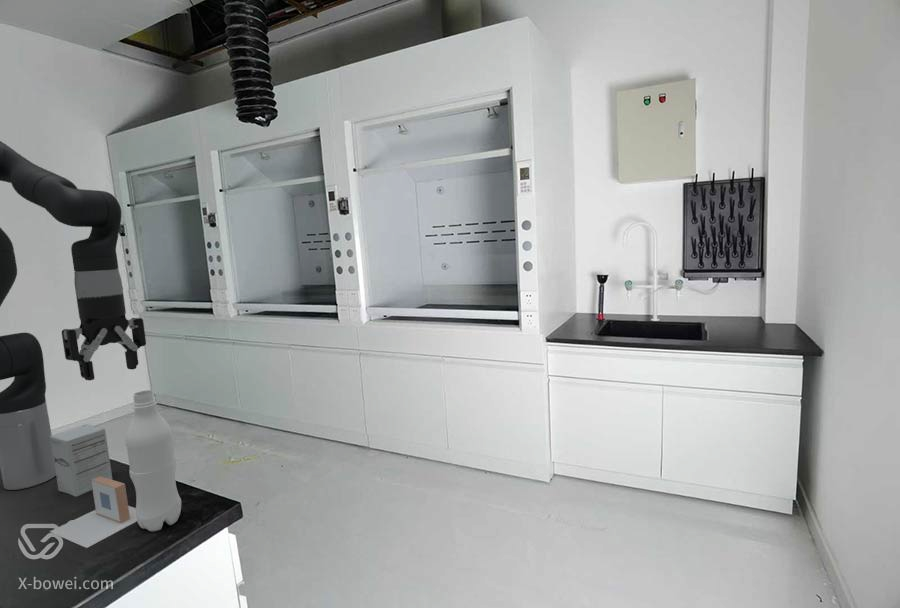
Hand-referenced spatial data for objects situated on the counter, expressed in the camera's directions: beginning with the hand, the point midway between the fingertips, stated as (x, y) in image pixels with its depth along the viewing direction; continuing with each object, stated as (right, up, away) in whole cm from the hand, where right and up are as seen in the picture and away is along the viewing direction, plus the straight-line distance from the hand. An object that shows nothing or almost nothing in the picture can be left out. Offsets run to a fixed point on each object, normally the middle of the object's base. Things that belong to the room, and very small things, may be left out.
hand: (111, 374), depth 96 cm
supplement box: (-10, -26, +7) cm, 29 cm away
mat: (+4, -27, -7) cm, 28 cm away
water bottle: (+15, -27, -8) cm, 32 cm away
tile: (+4, -26, -6) cm, 27 cm away
